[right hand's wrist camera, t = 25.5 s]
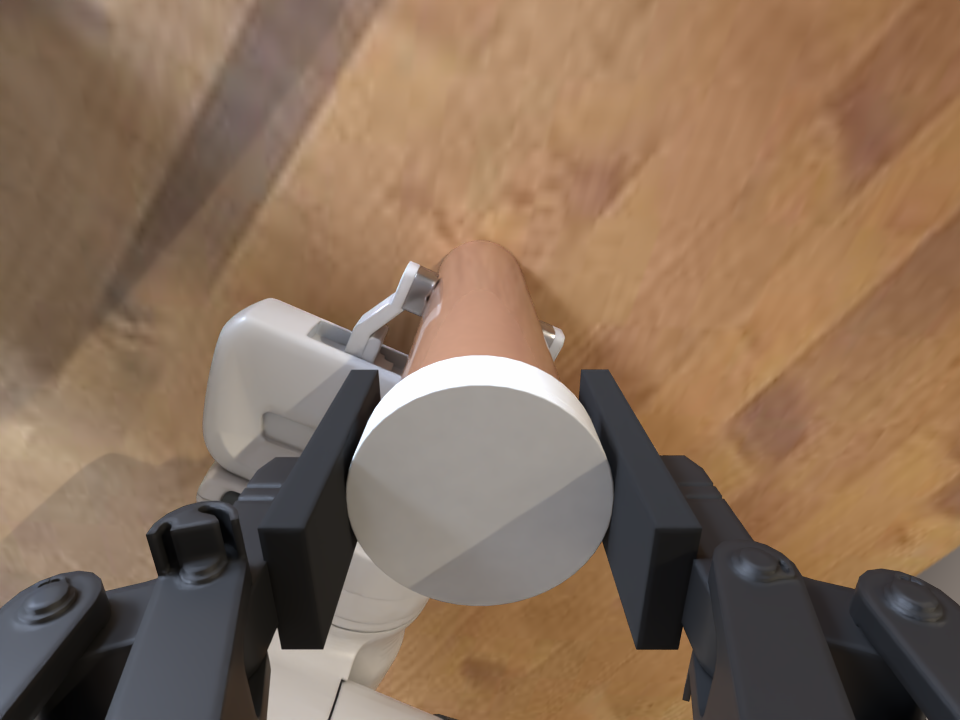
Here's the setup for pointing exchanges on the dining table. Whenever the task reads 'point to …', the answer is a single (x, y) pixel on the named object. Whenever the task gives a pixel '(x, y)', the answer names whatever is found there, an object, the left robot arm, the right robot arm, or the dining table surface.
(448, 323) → the brown cylinder
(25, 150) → the dining table surface
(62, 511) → the dining table surface
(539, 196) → the dining table surface
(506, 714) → the dining table surface
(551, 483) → the lid
